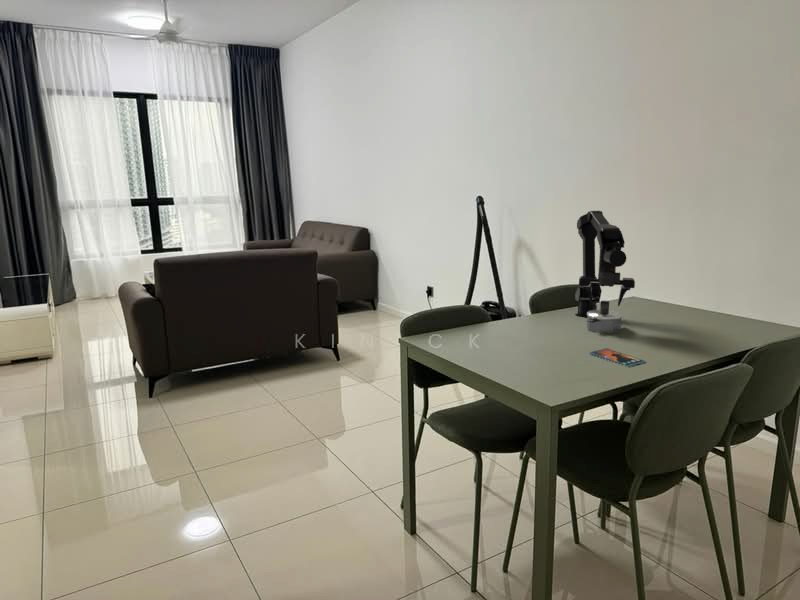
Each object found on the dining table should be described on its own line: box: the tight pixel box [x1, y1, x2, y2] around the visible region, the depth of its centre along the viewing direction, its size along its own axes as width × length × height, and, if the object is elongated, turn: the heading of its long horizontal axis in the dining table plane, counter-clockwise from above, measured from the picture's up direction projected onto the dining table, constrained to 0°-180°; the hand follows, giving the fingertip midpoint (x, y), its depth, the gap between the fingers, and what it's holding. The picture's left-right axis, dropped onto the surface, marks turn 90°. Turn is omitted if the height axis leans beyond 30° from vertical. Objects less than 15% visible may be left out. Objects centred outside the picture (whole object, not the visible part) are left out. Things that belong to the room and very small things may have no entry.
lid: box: [587, 300, 623, 320], centre depth 204 cm, size 12×12×6 cm
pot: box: [586, 316, 622, 334], centre depth 205 cm, size 11×16×5 cm
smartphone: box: [589, 347, 647, 368], centre depth 173 cm, size 8×1×15 cm
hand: (605, 305), depth 204 cm, fingers open, 9 cm apart
